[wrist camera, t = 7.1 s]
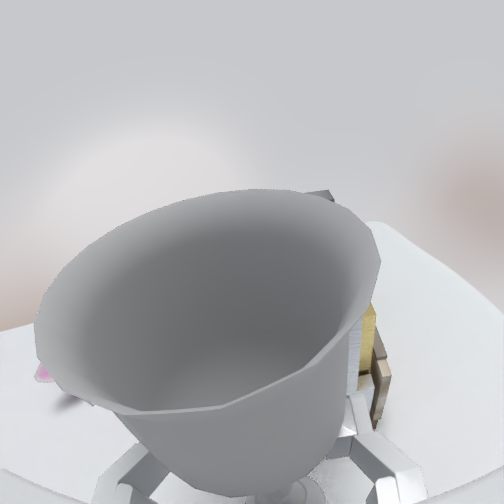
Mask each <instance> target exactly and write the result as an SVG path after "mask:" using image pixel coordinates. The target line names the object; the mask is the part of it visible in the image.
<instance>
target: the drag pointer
mask: <svg viewBox="0 0 504 504" xmlns="http://www.w3.org/2000/svg"><path fill="white" fill-rule="evenodd" d="M375 324H376V313H375V311H374V308H373V306H372V304H371V302H370V305H369V307H368V309H367V310H366V312H365V313H364V314H363V320H362V336H361V350H360V362H359V373H358V376H362V375H367V374H370V368H371V360H372V352H373V343H374V334H375Z"/></svg>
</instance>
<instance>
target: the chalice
mask: <svg viewBox="0 0 504 504" xmlns="http://www.w3.org/2000/svg"><path fill="white" fill-rule="evenodd" d="M380 264H381V259H380V256H379V253H378V250H377V246H376V243H375V240H374V237H373V234H372V232H371V229H370V228H369V227H367V226H366V225H365V224H364V223H363V222H362V221H361V220H360V219H359V218H358V217H357V216H356V215H355V214H354V213H352V212H351V211H350V210H349V209H347V208H345V207H343V206H341V205H339V204H336V203H334V202H332V201H330V200H327V199H325V198H323V197H320V196H315V195H311V194H306V193H300V192H295V191H290V190H269V189H268V190H267V189H249V190H239V191H229V192H219V193H214V194H210V195H206V196H201V197H196V198H191V199H187V200H183V201H180V202H177V203H173V204H170V205H168V206H165V207H162V208H159V209H156V210H153V211H150V212H148V213H146V214H143V215H141V216H139V217H137V218H135V219H133V220H131V221H129V222H126V223H124V224H122V225H120V226H118V227H116V228H115V229H113V230H112V231H110V232H108V233H107V234H105V235H104V236H102V237H101V238H99V239H98V240H96V241H95V242H93V243H92V244H90V245H89V246H88V247H86V248H85V249H84V250H83V251H82V252H81V253H79V254H78V255H77V256H76V257H75V258H74V259H73V260H72V261H70V262H69V263H68V264H67V265H66V266H65V267H64V268H63V269H62V270H61V272H60V273H59V274H58V276H57V277H56V278H55V280H54V281H53V283H52V284H51V286H50V287H49V288H48V290H47V291H46V292H45V294H44V296H43V299H42V302H41V304H40V307H39V310H38V313H37V316H36V319H35V322H34V332H35V343H36V353H37V358H38V359H39V360H40V362H41V363H42V365H43V366H44V367H45V369H46V370H47V371H48V373H49V374H50V375H51V377H52V378H53V379H54V381H55V382H56V383H57V384H58V386H59V387H60V388H61V389H62V391H65V392H67V393H69V394H71V395H74V396H76V397H78V398H81V399H83V400H85V401H88V402H90V403H93V404H95V405H98V406H100V407H103V408H106V409H108V410H111V411H113V412H114V414H115V415H116V416H117V417H118V418H119V419H120V420H121V422H122V423H123V424H124V425H125V426H126V427H127V428H128V429H129V431H130V432H131V433H132V434H133V435H134V436H135V437H136V438H137V439H138V440H139V441H140V442H141V443H142V444H143V446H144V447H145V448H146V449H147V450H148V451H149V452H150V453H151V454H152V455H153V456H154V457H155V458H156V459H157V460H158V461H159V462H161V463H162V464H163V465H164V466H165V467H166V468H167V469H168V470H169V471H171V472H172V473H173V474H175V475H176V476H178V477H179V478H180V479H182V480H183V481H185V482H186V483H188V484H189V485H191V486H192V487H194V488H195V489H199V490H203V491H206V492H210V493H214V494H218V495H222V496H226V497H243V496H247V498H246V501H245V504H325V503H326V502H325V497H324V493H323V491H322V489H321V488H320V486H319V485H318V484H317V483H316V482H315V481H314V480H312V479H311V478H309V477H308V476H307V475H308V474H309V473H310V472H311V471H312V470H313V469H314V468H315V467H316V466H317V465H318V464H319V463H320V462H321V461H322V459H323V458H324V457H325V456H326V455H327V454H328V453H329V452H330V451H331V450H332V448H333V445H334V443H335V441H336V438H337V436H338V433H339V431H340V429H341V426H342V424H343V421H344V415H345V403H346V390H347V375H348V356H349V332H350V331H351V330H352V329H353V327H354V326H355V325H356V323H357V322H358V321H359V319H360V318H361V317H362V316H363V314H364V313H365V312H366V310H367V309H368V307H369V305H370V301H371V298H372V294H373V291H374V287H375V284H376V280H377V276H378V272H379V268H380Z"/></svg>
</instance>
